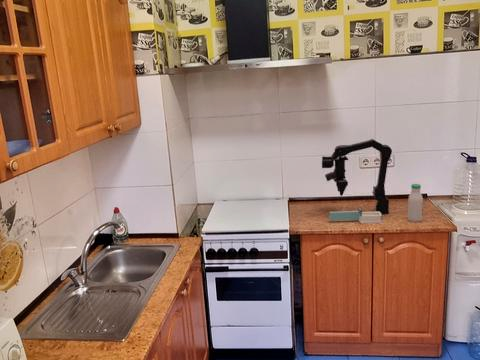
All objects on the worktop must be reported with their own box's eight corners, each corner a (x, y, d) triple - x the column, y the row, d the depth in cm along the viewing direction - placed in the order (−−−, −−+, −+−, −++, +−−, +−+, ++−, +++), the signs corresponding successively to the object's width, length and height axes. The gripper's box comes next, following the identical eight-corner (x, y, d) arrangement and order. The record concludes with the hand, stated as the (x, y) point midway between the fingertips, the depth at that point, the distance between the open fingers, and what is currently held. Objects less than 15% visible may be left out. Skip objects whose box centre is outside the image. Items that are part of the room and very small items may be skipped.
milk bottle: (421, 222, 227) (422, 187, 222) (406, 221, 231) (407, 185, 226) (423, 218, 233) (425, 183, 228) (408, 216, 237) (409, 182, 233)
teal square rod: (358, 218, 237) (358, 210, 236) (359, 219, 235) (359, 211, 234) (329, 219, 238) (329, 211, 237) (330, 220, 236) (330, 213, 235)
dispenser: (379, 217, 239) (379, 205, 237) (382, 222, 231) (382, 210, 229) (357, 218, 240) (357, 206, 238) (360, 223, 232) (360, 211, 230)
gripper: (324, 164, 254) (324, 189, 258) (327, 172, 236) (328, 198, 240) (342, 164, 253) (342, 189, 257) (347, 171, 235) (348, 197, 239)
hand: (340, 193), depth 248 cm, fingers open, 9 cm apart
